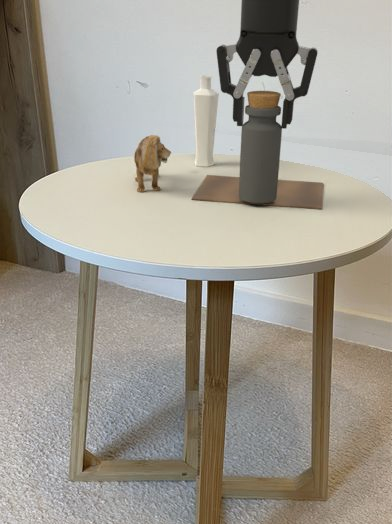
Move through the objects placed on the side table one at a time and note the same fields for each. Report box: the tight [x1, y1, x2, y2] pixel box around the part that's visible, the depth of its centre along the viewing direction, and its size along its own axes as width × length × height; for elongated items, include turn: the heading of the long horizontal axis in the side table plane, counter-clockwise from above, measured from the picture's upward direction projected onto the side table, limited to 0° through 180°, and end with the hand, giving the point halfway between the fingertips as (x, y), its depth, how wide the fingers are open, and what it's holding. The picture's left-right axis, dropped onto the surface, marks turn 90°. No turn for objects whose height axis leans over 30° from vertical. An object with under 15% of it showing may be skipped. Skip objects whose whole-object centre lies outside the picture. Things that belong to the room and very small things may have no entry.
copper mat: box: [191, 174, 324, 210], centre depth 97 cm, size 20×14×1 cm
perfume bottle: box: [192, 75, 220, 168], centre depth 108 cm, size 5×4×15 cm
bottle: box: [238, 90, 283, 203], centre depth 88 cm, size 6×6×15 cm
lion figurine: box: [133, 134, 172, 193], centre depth 97 cm, size 15×5×9 cm, turn 13°
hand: (262, 125), depth 87 cm, fingers closed on bottle, 5 cm apart
